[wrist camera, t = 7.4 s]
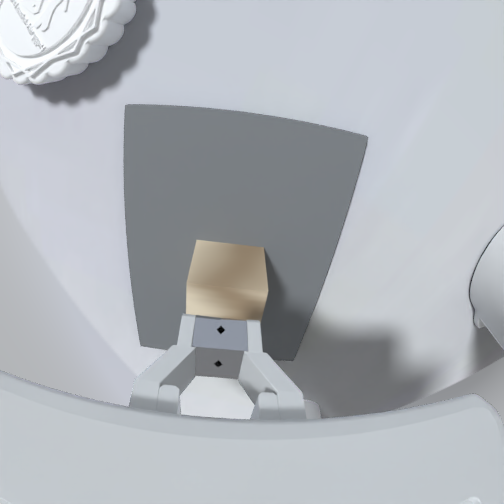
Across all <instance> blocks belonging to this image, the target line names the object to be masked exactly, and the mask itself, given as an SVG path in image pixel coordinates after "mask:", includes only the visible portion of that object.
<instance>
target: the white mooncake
mask: <svg viewBox="0 0 504 504" xmlns="http://www.w3.org/2000/svg"><path fill="white" fill-rule="evenodd" d="M135 1H136V0H0V74H1V76H2V77H3V78H4V79H13V80H14V82H15V83H16V84H18V85H26V84H31V83H33V84H35V85H41V84H46V83H51V82H56V81H61V80H63V79H64V78H66V77H67V76H71V75H78V74H80V73H82V72H83V71H84V70H85V69H86V68H87V67H88V65H89V63H95V62H98V61H99V60H101V59H102V58H103V57H104V56H105V55H106V53H107V50H108V46H110V45H113V44H115V43H117V42H118V41H119V40H120V39H121V37H122V36H123V33H124V25H125V24H127V23H128V22H130V21H131V20H132V19H133V17H134V16H135V13H136V5H135V3H134V2H135Z"/></svg>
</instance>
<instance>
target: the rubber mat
mask: <svg viewBox="0 0 504 504" xmlns="http://www.w3.org/2000/svg"><path fill="white" fill-rule="evenodd" d="M367 140H368V137H367V136H365V135H361V134H357V133H353V132H349V131H345V130H341V129H336V128H332V127H327V126H323V125H318V124H313V123H308V122H303V121H298V120H292V119H287V118H281V117H275V116H269V115H262V114H255V113H248V112H240V111H232V110H222V109H212V108H201V107H188V106H171V105H140V104H128V105H125V119H124V200H125V220H126V235H127V248H128V259H129V268H130V278H131V286H132V294H133V301H134V309H135V315H136V322H137V328H138V334H139V340H140V345H141V346H144V347H150V348H157V349H164V350H168V349H169V348H170V347H171V346H172V345H177V342H178V336H179V330H180V324H181V319H182V315H183V313H184V314H186V286H187V279H188V274H189V270H190V266H191V261H192V257H193V253H194V249H195V245H196V240H203V241H212V242H221V243H230V244H239V245H247V246H256V247H264V253H265V263H266V273H267V282H268V295H267V299H266V303H265V307H264V312H263V316H262V320H261V324H260V326H261V337H262V348H263V352H264V353H267V354H268V355H269V356H270V357H271V358H272V359H273V360H286V361H293V360H294V358H295V355H296V353H297V351H298V348H299V346H300V343H301V341H302V338H303V336H304V333H305V331H306V328H307V326H308V323H309V320H310V318H311V315H312V313H313V310H314V307H315V305H316V302H317V299H318V297H319V294H320V291H321V289H322V286H323V283H324V280H325V277H326V275H327V272H328V269H329V266H330V263H331V260H332V257H333V254H334V251H335V248H336V245H337V242H338V239H339V236H340V233H341V230H342V227H343V224H344V221H345V218H346V214H347V211H348V208H349V205H350V201H351V198H352V195H353V191H354V188H355V184H356V181H357V177H358V174H359V170H360V167H361V163H362V159H363V156H364V152H365V148H366V144H367Z"/></svg>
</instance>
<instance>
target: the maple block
mask: <svg viewBox="0 0 504 504" xmlns="http://www.w3.org/2000/svg"><path fill="white" fill-rule="evenodd" d="M267 295H268V282H267V273H266V263H265V253H264V247H256V246H247V245H239V244H230V243H221V242H212V241H203V240H196V245H195V249H194V253H193V257H192V261H191V266H190V270H189V274H188V279H187V286H186V314H191V315H201V316H209V317H218V318H231V319H245V320H259V321H260V324H261V320H262V316H263V312H264V307H265V303H266V299H267Z"/></svg>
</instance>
